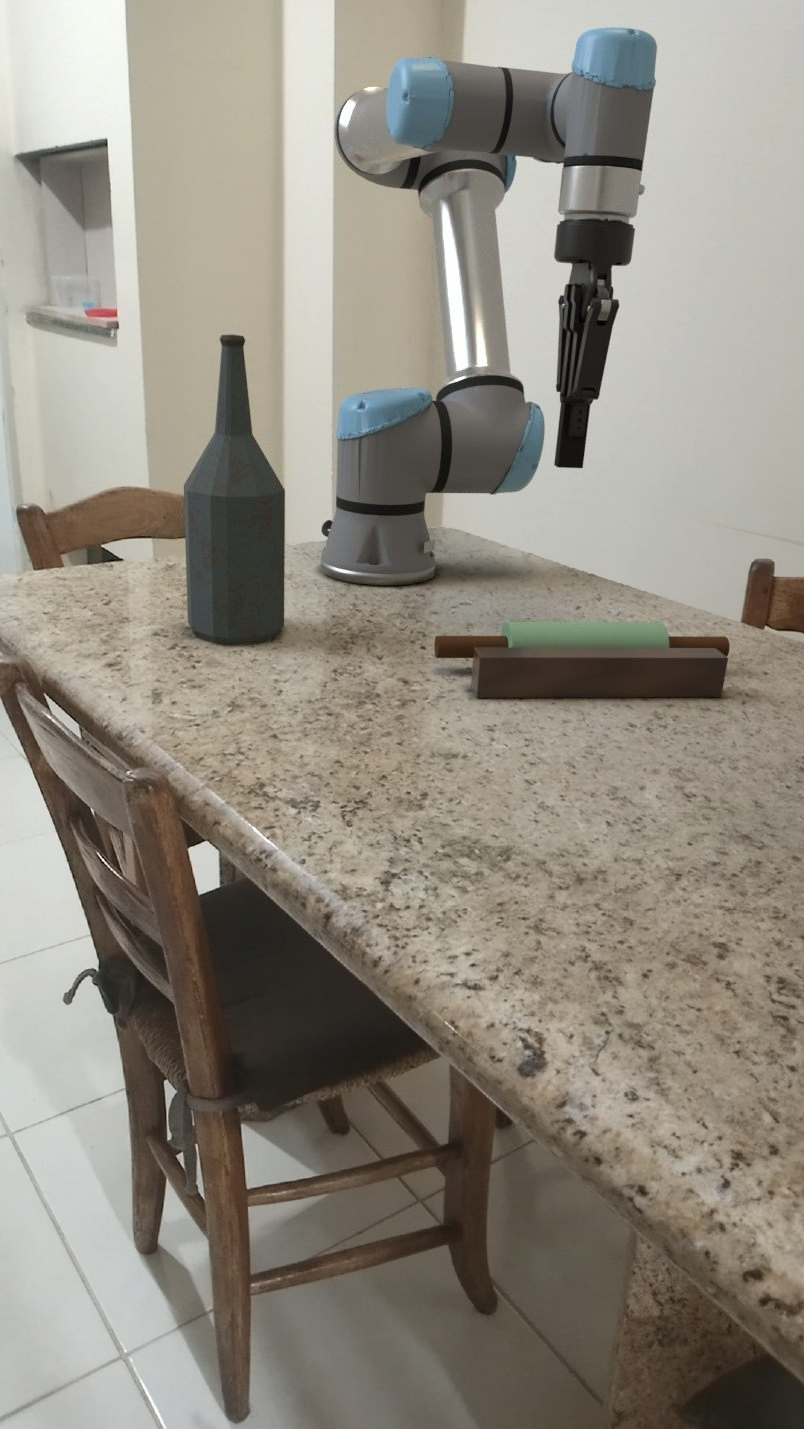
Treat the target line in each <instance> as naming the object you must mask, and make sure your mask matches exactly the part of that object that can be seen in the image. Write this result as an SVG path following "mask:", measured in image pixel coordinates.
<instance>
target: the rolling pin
mask: <svg viewBox="0 0 804 1429" xmlns="http://www.w3.org/2000/svg"><path fill="white" fill-rule="evenodd" d="M728 638H729V637H727V636H701V635H700V636H698V635H697V636H692V635H691V636H690V635H688V636H687V635H686V636H684V635H683V636H679V635H676V636H675V635H673V636H669V632H668V629H667V627H666V626H665V624H664V623H663V622H659V621H658V622H648V621H647V622H643V621H642V622H639V621H638V622H636V621H635V622H634V621H633V622H632V621H631V622H630V621H625V622H624V621H623V622H622V621H620V622H619V621H505V622H504V623H503V625H502V627H501V632H500V635H436V636H435V638H434V644H433V645H434V646H433V647H434V656H435V658H436V659H473V651H474V647H526V648H716V649H717V650H718V651H720V652H721V653H722V654H724V655H725V656H726V657H727V658H728V656H729V653H730V646H731V645H730V641H729V639H728Z"/></svg>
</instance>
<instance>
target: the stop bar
mask: <svg viewBox="0 0 804 1429" xmlns="http://www.w3.org/2000/svg"><path fill="white" fill-rule="evenodd" d="M728 662H729V657H728V656H727V657H726V656H725V655H724V654H722V653H721V652H720V651H718V650H717V649H716V648H526V647H474V651H473V658H472V665H471V679H470V689H471V690H472V692H473V693H474V696H475V697H476V699H543V698H545V699H547V698H549V699H550V698H551V699H552V698H553V699H557V698H558V699H559V698H560V699H561V698H563V699H564V698H565V699H567V698H570V699H571V698H572V699H573V698H574V699H575V698H581V699H582V698H583V699H585V698H589V699H590V698H592V699H593V698H594V699H595V698H596V699H597V698H722V696H723V690H724V684H725V679H726V672H727V668H728Z"/></svg>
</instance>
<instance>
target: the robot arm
mask: <svg viewBox="0 0 804 1429" xmlns="http://www.w3.org/2000/svg"><path fill="white" fill-rule="evenodd" d="M575 45H576V46H575V50H574V56H573V60H572V61H571V72H567V73H558V72H551V71H550V72H549V71H540V70H532V69H531V70H530V69H521V68H513V67H504V66H503V67H502V66H490V65H483V64H477V63H476V64H474V63H468V62H459V61H453V60H452V61H451V60H445V59H439V58H438V57H435V56H425V57H407V56H406V57H402V58H401V59H399V60H398V61H397V62H396V63H395V65H394V67H393V70H392V73H391V74H390V77H389V80H388V87H382V86H368V87H364V88H362V89H360V90H358V91H356V92H355V93H353V94H351V95H350V96H349V97H347V99H346V100H345V101H344V102H343V103H342V105H341V106H340V107H339V110H338V112H337V114H336V117H335V123H334V131H333V132H334V137H333V138H334V141H335V146H336V149H337V152H338V154H339V156H340V158H341V160H342V161H343V162H344V163H345V165H346V166H347V167H348V168H349V169H350V170H351V171H352V172H353V173H354V174H356V175H357V176H360V177H361V178H363V179H365V180H366V181H368V182H371V183H373V184H375V185H379V186H383V187H385V188H392V189H402V190H411V191H412V190H413V191H417V193H418V195H417V196H418V204H419V208H420V210H421V211H422V213H423V214H424V215H425V216H427V217H428V218H430V219H431V225H432V226H431V227H432V236H433V248H434V259H435V271H436V283H437V292H438V303H439V304H438V306H439V316H440V329H441V339H442V350H443V362H444V371H445V372H444V374H445V382H444V383H443V384H442V385H441V386H440V388H439V389H438V390H437V391H436V394H435V400H433V396H432V392H431V391H430V390H429V388H428V389H427V388H425V387H406V388H405V387H404V388H402V387H397V388H396V387H395V388H394V387H393V388H384V389H376V390H375V389H374V390H367V391H362V392H358V393H354V394H352V395H349V396H348V397H346V398H345V399H344V400H343V401H342V402H341V404H340V406H339V410H338V420H337V429H336V433H335V438H336V439H337V446H336V485H335V486H336V490H335V491H336V493H335V494H336V495H335V513H334V517H333V519H332V520H331V519H328V520H325V521H324V522H323V523H322V526H321V534H322V535H323V536H324V537H326V538H327V539H326V542H325V546H324V547H323V549H322V552H321V556H320V571H321V572H322V573H323V574H325V575H326V576H328V577H330V578H333V579H335V580H339V581H343V582H347V583H353V584H360V585H368V586H369V585H371V586H401V585H403V586H404V585H412V584H418V583H422V582H425V581H428V580H430V579H432V578H433V577H434V576H435V574H436V557H435V554H434V552H433V551H435V549H436V538H434V539H430V534H429V530H428V525H427V522H426V517H425V511H426V510H425V509H426V498H427V497H426V496H427V494H489V495H493V496H494V495H497V494H507V493H517V492H520V491H522V490H523V489H525V488H526V487H528V485H529V484H530V483H531V481H532V480H533V478H534V477H535V474H536V472H537V470H538V467H539V464H540V462H541V458H542V454H543V449H544V444H545V442H544V441H545V433H546V432H545V430H546V427H545V416H544V412H543V410H542V408H541V406H540V405H539V404H538V403H535V402H533V401H527V402H526V398H525V389H524V388H525V387H524V383H523V382H522V380H520V379H519V378H518V377H517V376H515V375H514V374H512V373H511V363H510V353H509V343H508V342H509V341H508V330H507V322H506V321H507V320H506V311H505V310H506V309H505V299H504V298H505V297H504V290H503V278H502V268H501V258H500V246H499V237H498V225H497V215H496V210H497V209H498V208H499V207H500V205H501V204H502V202H503V201H504V198H505V196H506V195H505V194H506V193H508V192H509V191H510V189H511V187H512V185H513V182H514V180H515V176H516V171H517V157H522V158H523V157H525V158H532V159H533V160H535V161H537V162H539V163H545V164H549V163H550V164H551V163H553V164H558V165H559V164H563V165H562V170H561V180H560V189H559V199H558V207H557V208H558V209H557V212H558V213H559V215H562V216H563V220H560V221H559V224H557V225H556V233H555V244H554V252H553V257H554V260H555V261H556V262H557V263H561V264H571V270H570V275H569V280H568V283H566V284H565V286H564V292H563V295H559V297H558V302H557V304H558V316H559V322H558V343H557V344H558V346H557V364H556V365H557V366H556V384H555V389H556V392H557V393H559V403H560V410H559V418H558V427H557V437H556V445H555V454H554V455H555V456H554V463H553V465H554V466H556V468H559V469H561V468H563V469H564V468H565V469H583V468H584V460H585V453H586V452H585V451H586V444H587V435H588V426H589V419H590V410H591V405H592V404H593V401H597V400H598V399H599V398H600V395H601V388H602V382H603V378H604V372H605V368H606V363H607V357H608V352H609V348H610V343H611V337H612V332H613V328H614V323H615V320H616V318H617V315H618V312H619V309H620V300H619V299H617V298H615V299H614V287H613V281H612V280H613V279H612V278H613V276H612V275H613V274H612V273H613V271H612V268H613V267H626V266H628V265H630V264H631V261H632V256H633V249H634V248H633V247H634V242H635V234H636V233H635V232H636V228H635V227H634V225H633V224H631V223H630V219H634V218H635V217H636V216H637V213H638V204H639V197H640V196H642V195H644V194H645V190H646V187H645V185H644V184H641V180H642V175H643V168H644V160H645V155H646V154H645V153H646V147H647V140H648V134H649V133H648V131H649V124H650V118H651V111H652V105H653V104H652V103H653V97H654V90H655V88H656V84H657V80H656V78H655V76H656V66H657V65H656V64H657V53H658V44H657V41H656V39H655V38H654V36H652V34H650V33H649V32H646V31H645V30H641V29H636V28H631V27H630V28H628V27H615V26H614V27H598V28H593V29H588V30H587V31H584V32H583V33H582V34H580V36H579V37H578V38H577V41H576V43H575Z"/></svg>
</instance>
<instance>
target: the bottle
mask: <svg viewBox="0 0 804 1429" xmlns="http://www.w3.org/2000/svg"><path fill="white" fill-rule="evenodd" d="M219 342H220V345H221V351H220V362H219V364H220V365H219V374H218V375H219V376H218V377H219V378H218V389H217V400H216V411H215V412H216V413H215V424H214V433H213V435H212V436H211V437H210V440H209V441H208V443H207V445H206V446H205V448H204V450H203V452H202V453H201V455H200V457H199V458H198V460H197V462H196V463H195V465H194V467H193V468H192V470H191V472H190V473H189V475H188V477H187V479H186V480H185V482H184V484H183V506H184V507H183V508H184V509H183V510H184V538H185V539H184V540H185V541H184V542H185V544H184V545H185V571H186V572H185V574H186V607H187V622H188V624H189V627H190V630H191V631H192V632H193V634H194V637H195V638H196V639H199V640H204V641H207V642H210V643H213V644H217V645H219V644H220V645H226V646H227V645H229V646H231V645H251V644H260V643H263V642H264V643H265V642H268V641H270V640H272V639H273V638H275V637H276V636H278V635H279V634H280V633H281V632H282V630H283V628H284V626H285V565H286V564H285V556H286V555H285V554H286V551H285V550H286V549H285V548H286V545H285V542H286V539H285V538H286V531H285V530H286V490H285V488H284V486H283V484H282V483H281V481H280V479H279V477H278V476H277V474H276V472H275V471H274V468H273V467H272V465H271V463H270V462H269V460H268V459H267V456H266V455H265V454H264V452H263V450H262V448H261V446H260V445H259V442H258V441H257V440H256V438H255V436H254V434H253V426H252V418H251V416H252V415H251V408H250V399H249V397H250V396H249V388H248V378H247V368H246V360H245V358H246V357H245V350H244V346H245V344H246V338H245V336H243V335H239V334H221V335H220V337H219Z"/></svg>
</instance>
